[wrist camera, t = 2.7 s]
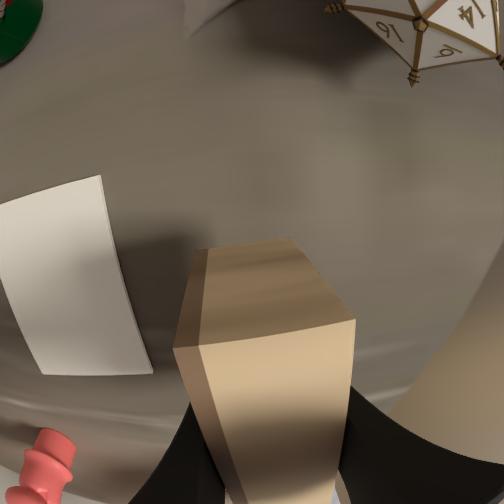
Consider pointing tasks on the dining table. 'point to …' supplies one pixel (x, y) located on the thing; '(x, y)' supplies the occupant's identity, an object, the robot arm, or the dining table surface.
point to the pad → (69, 282)
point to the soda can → (17, 25)
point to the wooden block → (267, 370)
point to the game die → (431, 29)
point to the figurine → (44, 470)
